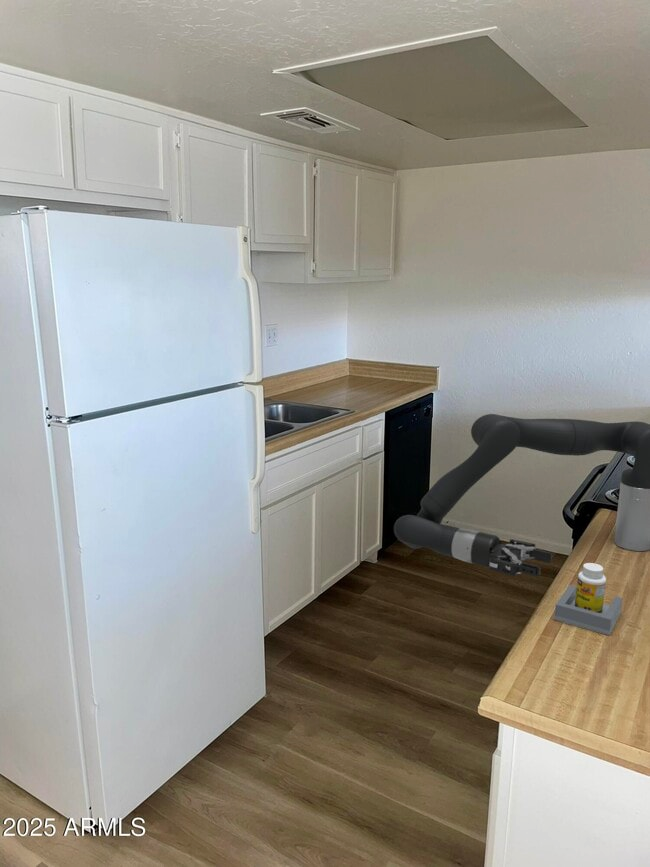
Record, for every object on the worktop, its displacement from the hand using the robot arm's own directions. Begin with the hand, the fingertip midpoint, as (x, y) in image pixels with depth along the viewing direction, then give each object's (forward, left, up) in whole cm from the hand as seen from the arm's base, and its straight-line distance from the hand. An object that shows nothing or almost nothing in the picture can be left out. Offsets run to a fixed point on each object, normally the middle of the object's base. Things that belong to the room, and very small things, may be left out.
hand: (545, 564), depth 144 cm
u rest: (0, +10, -9) cm, 13 cm away
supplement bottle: (0, +10, -8) cm, 13 cm away
